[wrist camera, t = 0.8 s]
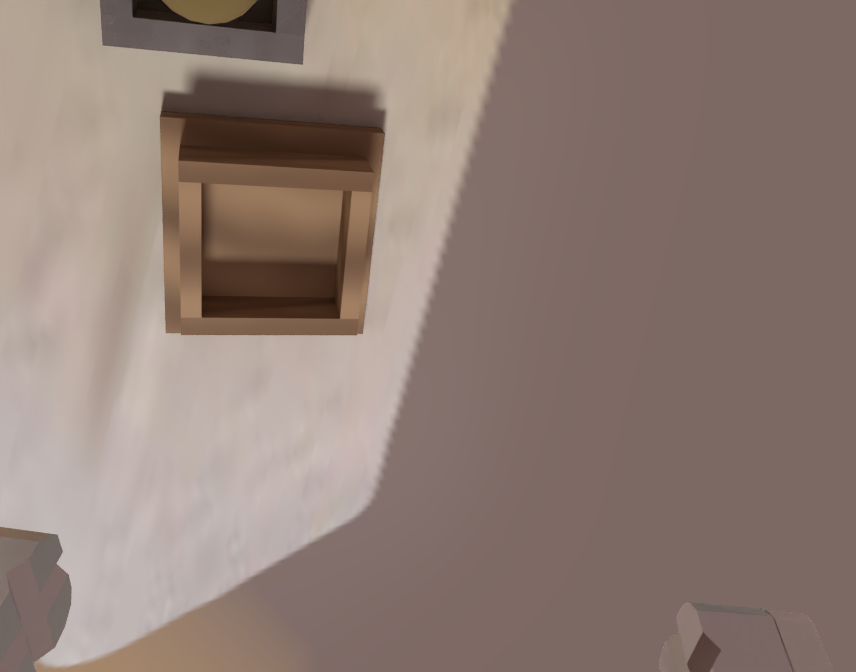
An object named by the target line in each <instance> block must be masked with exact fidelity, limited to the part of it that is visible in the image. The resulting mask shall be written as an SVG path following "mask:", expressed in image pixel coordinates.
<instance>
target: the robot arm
mask: <svg viewBox="0 0 856 672" xmlns="http://www.w3.org/2000/svg"><path fill="white" fill-rule="evenodd" d="M62 552H63V551H62V548H61V545H60V541H59V538H58V535H56V534H48V533H41V532H34V531H26V530H19V529H11V528H4V527H0V672H37V671H36V667H35V661H37V660H38V659H40V658H41V657H42V656H44V655H45V654H46V653H48V652H49V651H51V650H52V649H53V648H55V646H56V644H57V642H58V640H59V638H60V636H61V634H62V632H63V630H64V627H65V624H66V621H67V617H68V613H69V609H70V606H71V583H70V579H69V575H68V574H67V573H66V572H65V571H64V570H63V569H61V568H60V567H59V566H58V565H57V564H56V563H57V561H58V560H59V558H60V556H61V554H62ZM676 620H677V624H678V628H679V633H677V634H676V635H674V636H672V637H670V638H669V639H667V640H666V643H665V645H664V648H663V651H662V653H661V656H660V665H659V672H834V671H833V669H832V666H831V664H830V662H829V660H828V657H827V655H826V652H825V650H824V647H823V645H822V643H821V641H820V638H819V636H818V633H817V631H816V628H815V626H814V624H813V622H812V621H811V620H810V619H809V618H808V616H807V615H805V614H799V613H790V612H780V611H771V610H762V609H761V608H751V607H740V606H729V605H719V604H708V603H697V602H687V603H686V604H685V605H683V606H682V607H681V609H680V612H679V614H678V616H677V618H676Z"/></svg>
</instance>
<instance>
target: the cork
mask: <svg viewBox="0 0 856 672" xmlns="http://www.w3.org/2000/svg"><path fill="white" fill-rule="evenodd" d="M162 1H163V2H164V3H165V4H166V5H167V6H168V7H169V8H170V9H171V10H172V11H174V12H176V13H177V14H179V15H181V16H183V17H185V18H186V19H188V20H190V21H195V22H200V23H204V24H217V23H226V22H229V21H231V20H233V19H235V18H237V17H240V16H242V15H244V14H245V13H246V12H247V11H248V10H249V9H250V8H251V7H252V6H253V5H254V3H255V2H256V1H257V0H162Z"/></svg>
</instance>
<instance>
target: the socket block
mask: <svg viewBox="0 0 856 672" xmlns="http://www.w3.org/2000/svg"><path fill="white" fill-rule="evenodd" d="M100 8H101V25H102V42H103V45H105V46H115V47H126V48H136V49H147V50H157V51H167V52H178V53H188V54H198V55H209V56H219V57H229V58H240V59H250V60H260V61H271V62H281V63H291V64H302V65H303V51H304V33H305V16H306V0H273V18H272V24H266V23H257V22H248V21H239V20H231V21H229V22H226V23H217V24H204V23H200V22H195V21H190V20H188V19H186V18H185V17H183V16H181V15H179V14H175V13H166V12H157V11H148V10H138V9H137V0H100Z"/></svg>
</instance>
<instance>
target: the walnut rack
mask: <svg viewBox="0 0 856 672" xmlns="http://www.w3.org/2000/svg"><path fill="white" fill-rule="evenodd" d="M160 133H161V170H162V207H163V245H164V282H165V320H166V333H181V335H357V334H363V327H364V318H365V309H366V300H367V291H368V282H369V273H370V263H371V254H372V245H373V236H374V227H375V218H376V209H377V200H378V191H379V182H380V173H381V163H382V154H383V145H384V136H385V133H384V132H383V130H382V129H381V128H371V127H358V126H345V125H331V124H318V123H305V122H292V121H279V120H266V119H253V118H240V117H227V116H214V115H201V114H188V113H175V112H162V111H161V115H160Z"/></svg>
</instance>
